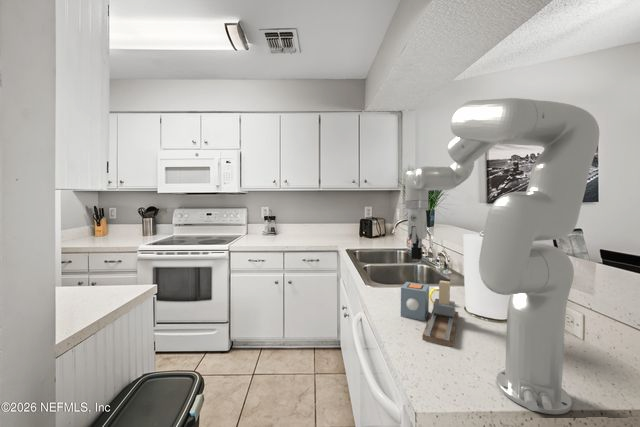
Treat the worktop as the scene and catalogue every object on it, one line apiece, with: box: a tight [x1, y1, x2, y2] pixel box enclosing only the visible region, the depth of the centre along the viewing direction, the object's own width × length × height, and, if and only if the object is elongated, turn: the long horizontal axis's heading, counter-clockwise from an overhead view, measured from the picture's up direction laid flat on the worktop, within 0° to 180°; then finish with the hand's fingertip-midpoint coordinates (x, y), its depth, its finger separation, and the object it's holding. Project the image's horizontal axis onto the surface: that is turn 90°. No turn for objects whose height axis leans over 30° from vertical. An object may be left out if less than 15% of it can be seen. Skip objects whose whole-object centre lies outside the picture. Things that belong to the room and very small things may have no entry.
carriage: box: [432, 280, 456, 317], centre depth 94 cm, size 6×6×10 cm
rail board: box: [422, 307, 459, 348], centre depth 90 cm, size 23×8×3 cm, turn 150°
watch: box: [429, 286, 439, 304], centre depth 110 cm, size 6×3×6 cm, turn 88°
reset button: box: [408, 284, 422, 289], centre depth 99 cm, size 4×4×3 cm
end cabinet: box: [400, 281, 430, 321], centre depth 99 cm, size 8×8×10 cm
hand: (416, 258), depth 98 cm, fingers closed
